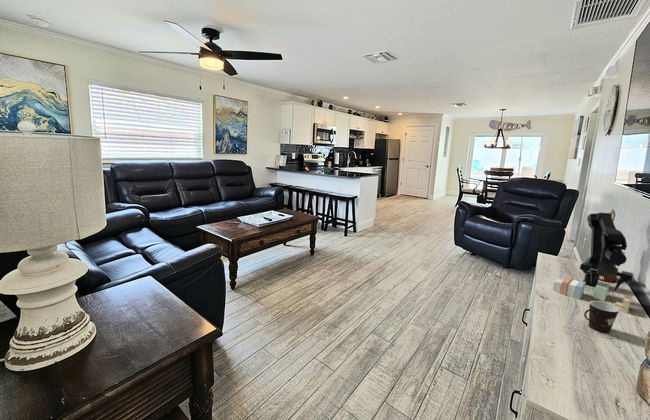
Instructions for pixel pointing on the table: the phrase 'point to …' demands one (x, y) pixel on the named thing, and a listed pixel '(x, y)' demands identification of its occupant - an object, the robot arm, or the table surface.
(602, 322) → the coffee mug
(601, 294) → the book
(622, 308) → the bookend
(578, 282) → the book row
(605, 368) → the table surface
